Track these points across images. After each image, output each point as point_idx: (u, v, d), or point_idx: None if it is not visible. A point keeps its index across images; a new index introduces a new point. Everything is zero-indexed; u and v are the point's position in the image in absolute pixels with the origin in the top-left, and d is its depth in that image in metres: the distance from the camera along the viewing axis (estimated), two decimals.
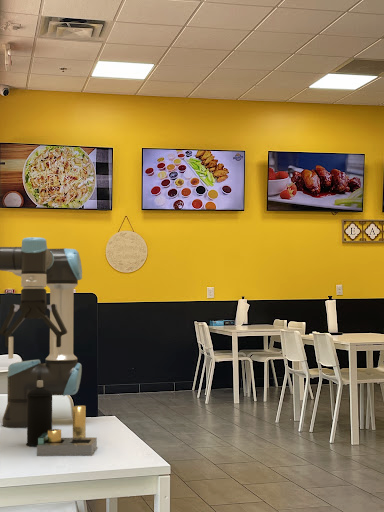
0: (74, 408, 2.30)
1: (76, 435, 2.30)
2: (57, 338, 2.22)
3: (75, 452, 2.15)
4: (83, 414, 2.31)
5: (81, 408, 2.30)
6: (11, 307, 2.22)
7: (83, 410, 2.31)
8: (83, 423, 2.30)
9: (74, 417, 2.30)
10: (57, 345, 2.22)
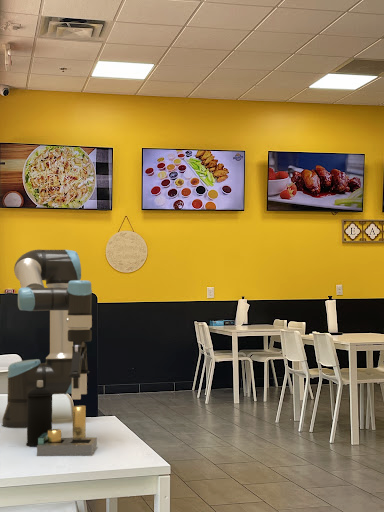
0: (74, 408, 2.30)
1: (76, 435, 2.30)
2: None
3: (75, 452, 2.15)
4: (83, 413, 2.31)
5: (81, 408, 2.30)
6: None
7: (83, 410, 2.31)
8: (83, 423, 2.30)
9: (74, 417, 2.30)
10: None
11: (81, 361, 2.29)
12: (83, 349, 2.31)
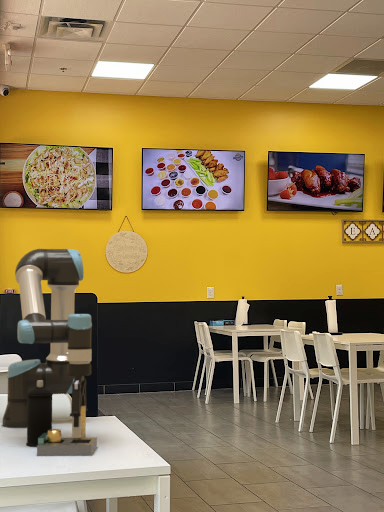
0: None
1: None
2: (74, 418, 2.26)
3: (75, 452, 2.15)
4: (83, 414, 2.31)
5: (81, 408, 2.30)
6: None
7: (83, 410, 2.31)
8: (83, 423, 2.30)
9: None
10: None
11: (81, 397, 2.29)
12: (83, 384, 2.30)
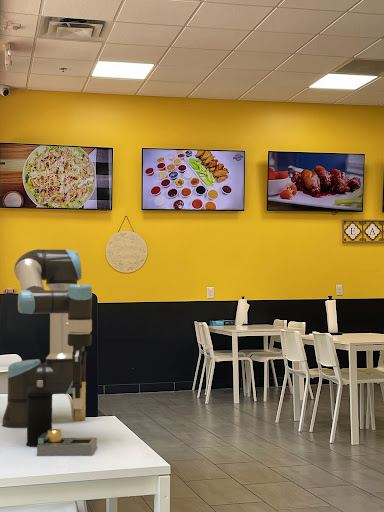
0: None
1: (75, 410, 2.31)
2: None
3: (75, 452, 2.15)
4: (83, 389, 2.31)
5: None
6: None
7: (83, 386, 2.31)
8: (83, 399, 2.31)
9: None
10: None
11: (82, 368, 2.31)
12: (83, 355, 2.31)
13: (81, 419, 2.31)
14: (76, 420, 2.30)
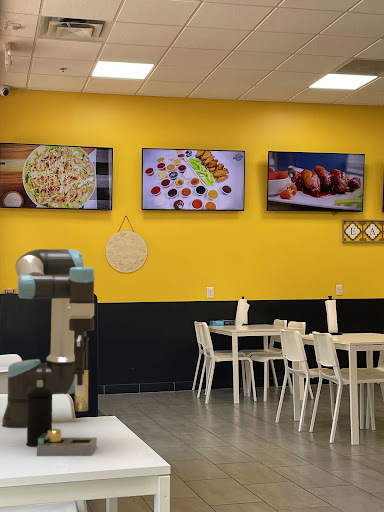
0: None
1: (77, 400, 2.20)
2: None
3: (75, 452, 2.15)
4: (85, 378, 2.21)
5: None
6: None
7: (85, 374, 2.21)
8: (85, 387, 2.21)
9: None
10: None
11: (84, 354, 2.21)
12: (85, 340, 2.21)
13: (84, 409, 2.20)
14: (78, 410, 2.20)
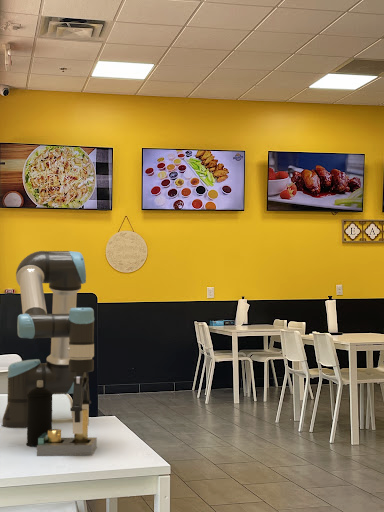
0: None
1: (77, 440, 2.20)
2: (75, 413, 2.15)
3: (75, 452, 2.15)
4: (85, 418, 2.20)
5: (83, 412, 2.20)
6: None
7: (85, 414, 2.21)
8: (85, 428, 2.20)
9: None
10: None
11: (83, 393, 2.18)
12: (85, 380, 2.21)
13: None
14: None
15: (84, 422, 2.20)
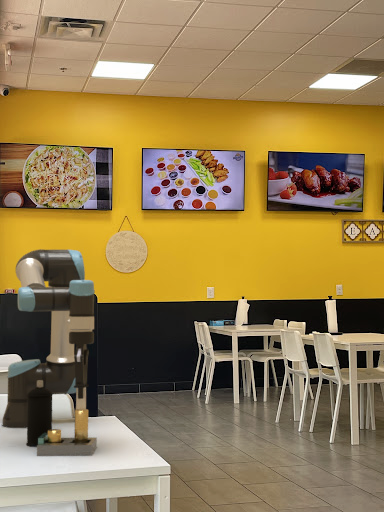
0: (76, 412, 2.20)
1: (77, 440, 2.20)
2: None
3: (75, 452, 2.15)
4: (85, 418, 2.20)
5: (83, 412, 2.20)
6: None
7: (85, 414, 2.21)
8: (85, 428, 2.20)
9: (76, 421, 2.20)
10: None
11: (84, 367, 2.22)
12: (85, 353, 2.21)
13: None
14: None
15: (84, 422, 2.20)
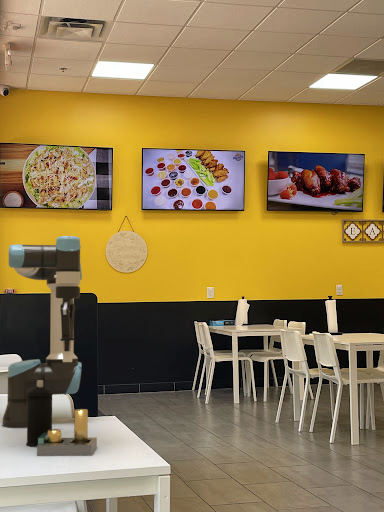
0: (75, 412, 2.20)
1: (77, 440, 2.20)
2: None
3: (75, 452, 2.15)
4: (85, 418, 2.21)
5: (83, 412, 2.20)
6: None
7: (85, 414, 2.21)
8: (85, 427, 2.20)
9: (76, 421, 2.20)
10: None
11: (70, 321, 2.27)
12: (71, 307, 2.27)
13: None
14: None
15: (84, 422, 2.20)
